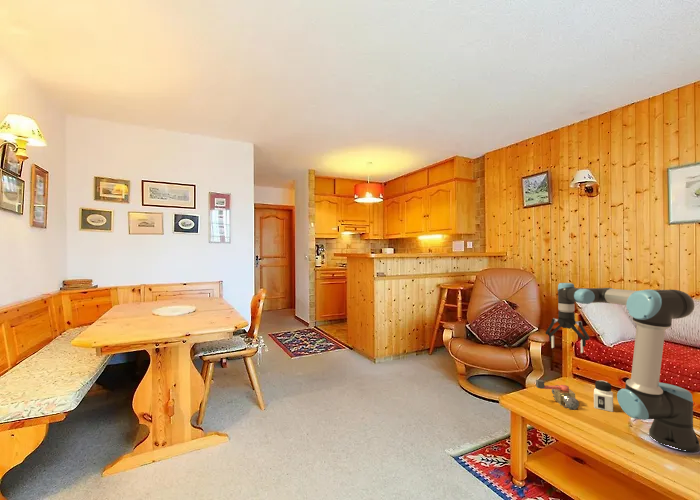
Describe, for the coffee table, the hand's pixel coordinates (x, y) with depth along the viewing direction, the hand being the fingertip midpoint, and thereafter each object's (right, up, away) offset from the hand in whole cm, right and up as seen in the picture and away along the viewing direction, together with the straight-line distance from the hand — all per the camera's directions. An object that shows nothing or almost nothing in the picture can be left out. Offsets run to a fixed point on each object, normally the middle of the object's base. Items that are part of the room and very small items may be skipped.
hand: (567, 349), depth 181 cm
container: (+11, -26, -12) cm, 31 cm away
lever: (-11, -19, -5) cm, 23 cm away
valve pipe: (-5, -26, -6) cm, 27 cm away
